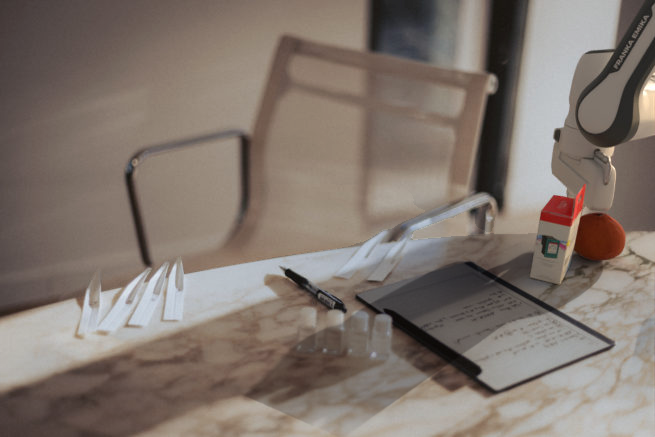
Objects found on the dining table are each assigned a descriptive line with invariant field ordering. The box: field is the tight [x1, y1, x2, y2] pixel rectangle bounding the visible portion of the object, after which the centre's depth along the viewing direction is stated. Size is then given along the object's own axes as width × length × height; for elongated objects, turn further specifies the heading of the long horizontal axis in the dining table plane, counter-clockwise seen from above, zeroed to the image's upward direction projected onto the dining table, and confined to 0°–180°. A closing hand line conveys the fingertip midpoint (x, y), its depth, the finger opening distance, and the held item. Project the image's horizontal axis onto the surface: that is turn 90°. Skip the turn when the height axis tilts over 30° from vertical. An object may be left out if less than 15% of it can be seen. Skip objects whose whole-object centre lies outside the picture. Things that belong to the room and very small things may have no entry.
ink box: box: [529, 184, 586, 285], centre depth 99 cm, size 8×5×15 cm, turn 149°
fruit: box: [573, 211, 627, 261], centre depth 105 cm, size 9×9×8 cm
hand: (573, 214), depth 115 cm, fingers closed
